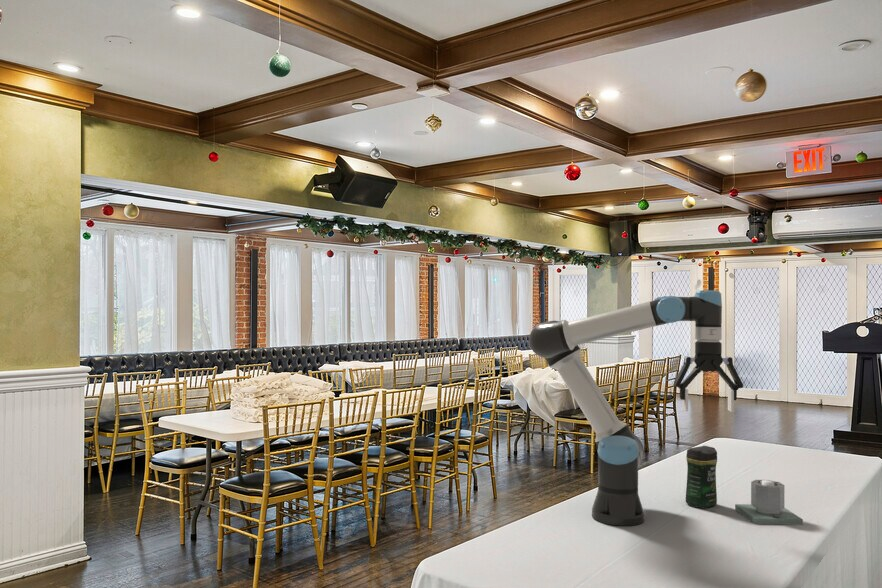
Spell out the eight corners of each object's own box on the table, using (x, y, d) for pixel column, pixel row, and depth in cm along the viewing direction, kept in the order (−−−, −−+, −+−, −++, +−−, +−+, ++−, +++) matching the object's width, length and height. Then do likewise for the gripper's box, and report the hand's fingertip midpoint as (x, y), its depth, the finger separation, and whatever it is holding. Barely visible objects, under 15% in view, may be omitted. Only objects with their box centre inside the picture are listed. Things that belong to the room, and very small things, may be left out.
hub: (759, 510, 202) (759, 487, 202) (747, 502, 210) (747, 479, 210) (788, 511, 201) (788, 487, 201) (775, 502, 210) (775, 479, 210)
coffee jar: (703, 510, 211) (703, 450, 211) (681, 504, 218) (681, 446, 218) (721, 505, 217) (721, 447, 217) (699, 499, 223) (699, 442, 223)
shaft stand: (754, 523, 199) (754, 487, 199) (735, 508, 213) (735, 475, 213) (802, 524, 198) (802, 488, 198) (780, 509, 212) (780, 476, 212)
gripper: (670, 341, 203) (670, 412, 203) (755, 342, 203) (754, 413, 202) (663, 339, 211) (663, 408, 211) (744, 340, 210) (744, 409, 210)
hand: (708, 410), depth 207 cm, fingers open, 13 cm apart
